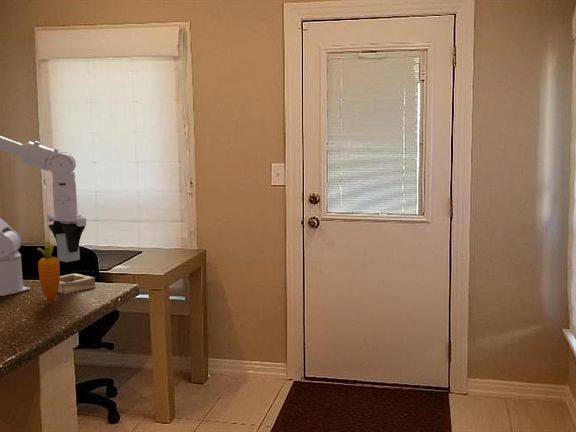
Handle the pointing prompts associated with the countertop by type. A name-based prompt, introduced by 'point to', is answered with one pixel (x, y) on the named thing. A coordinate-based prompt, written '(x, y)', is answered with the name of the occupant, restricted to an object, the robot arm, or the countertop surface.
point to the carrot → (49, 273)
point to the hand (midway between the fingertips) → (68, 250)
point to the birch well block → (75, 283)
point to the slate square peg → (65, 249)
